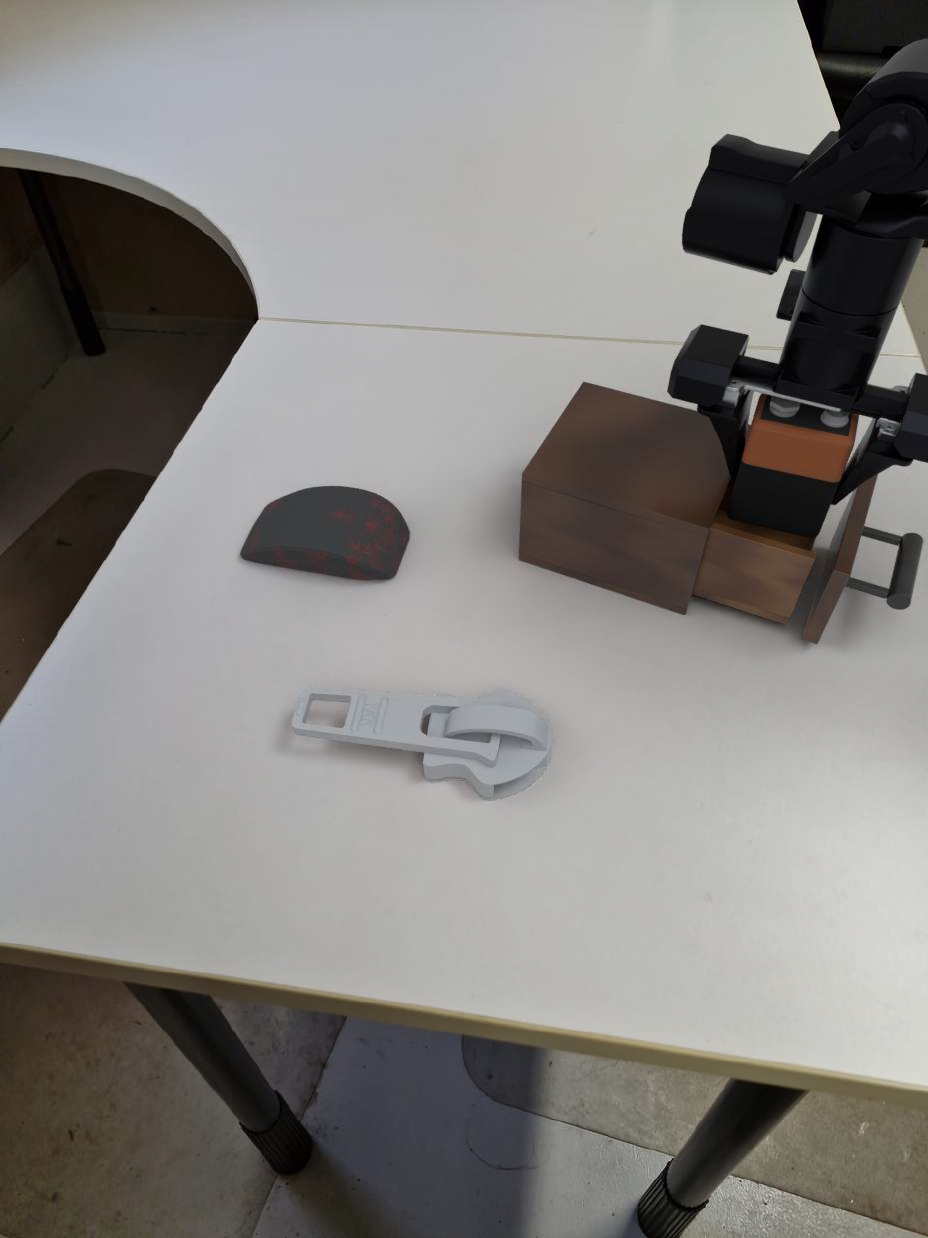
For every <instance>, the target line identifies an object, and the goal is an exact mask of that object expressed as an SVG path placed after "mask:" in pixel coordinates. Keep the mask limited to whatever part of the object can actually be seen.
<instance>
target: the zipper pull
mask: <svg viewBox="0 0 928 1238" xmlns="http://www.w3.org/2000/svg"><path fill="white" fill-rule="evenodd" d="M297 699H298V700H297V703H296V706H295V709H294V712H293V716H292V719H291V728H292V730H293V733H294V734H295V735H297V736H301V737H307V738H314V739H321V740H329V741H335V742H343V743H351V744H357V745H358V744H359V745H365V746H373V747H379V748H389V749H395V750H404V751H411V752H417V753H423V758H422V759H423V760H422V768H423V775H424V780H425V781H427V782H429V783H438V782H443V781H444V782H445V781H452V780H453V781H454V780H455V781H456V780H457V781H464V782H466V783H467V784H469V785H470V787H471V788H472V789H473V791H474V792H475V793H476V794H477V795H478V797H480V798H481V799H483V800H484V801H495V800H500V799H505V798H508V797H512V796H514V795H516V794H519V793H520V792H522V791H524V790H526V789H527V788H529V787H530V786H532V785H534V783H535V782H536V781H538V779H540V778H541V776H542V775H543V774H544V772H545V771H546V770H547V768H548V767H549V764H550V762H551V757H552V751H551V748H552V745H553V740H554V739H553V732H552V729H551V726H550V724H549V722H548V720H547V719H546V717H545V716H544V714H543V713H542V712H541V711H540V710H539V708H538V707H537V706H536V705H535V704H533V703H532V702H531V701H529V699H527V698H525V697H523V696H522V695H520V694H519V693H517V692H514V691H512V690H510V689H508V688H505V687H494V688H492V689H490V690H488V691H487V692H485V693H484V694H482V695H481V696H479V697H478V698H477V697H476V698H474V697H461V696H455V695H452V694H449V693H448V692H443V691H442V692H441V691H440V692H437V693H435V695H433V694H432V695H431V694H419V693H418V694H415V693H404V692H403V693H402V692H387V691H386V692H385V691H371V690H358V689H345V688H344V689H343V688H327V687H326V688H325V687H312V686H307V687H304V688H302V689H301V691H300V693H299V696H298V698H297ZM313 701H316V702H317V701H318V702H332V703H334V702H335V703H346V704H349V707H348V712H347V715H346V717H345V721H344V722H345V723H344V724H343V727H336V726H328V725H321V724H312V723H307V720H308V716H309V714H310V710H311V706H312V703H313ZM428 715H430V717H429V721H428V727H427V733H424V732H423V731H422V728H423V724H424V719H425V717H426V716H428Z"/></svg>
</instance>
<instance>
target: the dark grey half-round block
mask: <svg viewBox="0 0 928 1238" xmlns="http://www.w3.org/2000/svg"><path fill="white" fill-rule="evenodd" d="M410 534H411V532H410V528H409V526H408V524H407V522H406V520H405V518H404V516H403V514H402V513H401V511H400V510H399V509H398V508H397V506H396V505H395V504H394V503H392V502H391V500H389V499H387V498H385V497H384V496H383V495H380V494H378V493H377V492H373V491H370V490H367V489H364V488H363V489H362V488H358V487H352V486H345V485H319V486H311V487H307V488H302V489H299V490H296V491H293V492H290V493H287V494H286V495H283V496H281V497H279V498H277V499H275V500H272V501H271V502H269V503H267V504H266V505H265V507H264V508H263V509H262V510H261V512H260V514H259V515H258V517H257V518H256V520H255V522H254V523H253V525H252V527H251V529H250V531H249V533H248V535H247V537H246V538H245V541H244V543H243V545H242V547H241V549H240V552H239V555H240V558H241V559H243V560H246V561H250V562H254V563H260V564H265V565H270V566H275V567H276V566H277V567H282V568H287V569H288V568H289V569H295V570H300V571H306V572H313V573H319V574H325V575H331V576H335V577H336V576H337V577H343V578H349V579H356V580H384V579H391V578H394V577H395V576H396V575H397V573H398V570H399V567H400V565H401V562H402V560H403V556H404V554H405V551H406V549H407V547H408V544H409V542H410V537H411V535H410Z"/></svg>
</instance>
